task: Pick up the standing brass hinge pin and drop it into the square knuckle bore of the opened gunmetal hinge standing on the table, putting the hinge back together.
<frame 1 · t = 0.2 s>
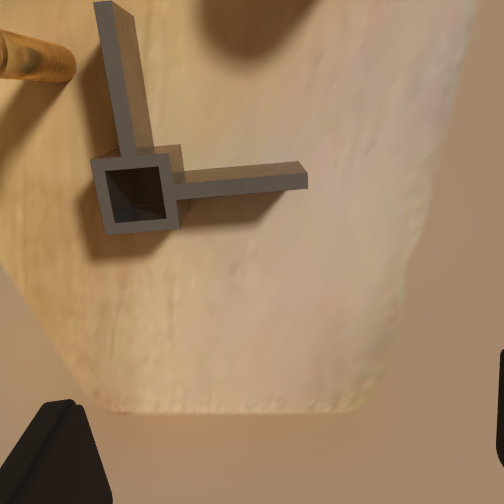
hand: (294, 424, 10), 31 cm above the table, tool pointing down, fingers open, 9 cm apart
hinge pin: (58, 64, 35), on the table
hinge body: (152, 180, 39), on the table
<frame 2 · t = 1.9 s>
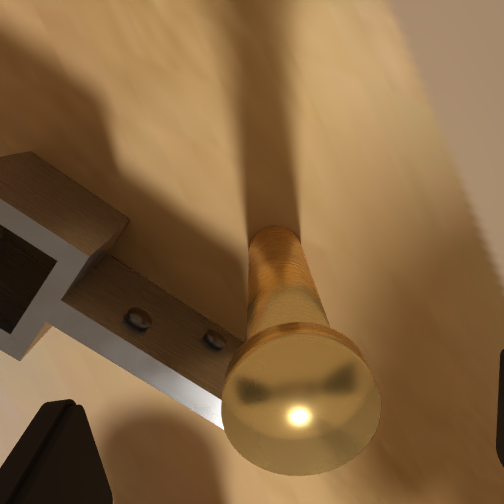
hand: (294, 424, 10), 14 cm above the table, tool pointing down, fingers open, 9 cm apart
hinge pin: (275, 251, 23), on the table
hinge body: (53, 230, 23), on the table
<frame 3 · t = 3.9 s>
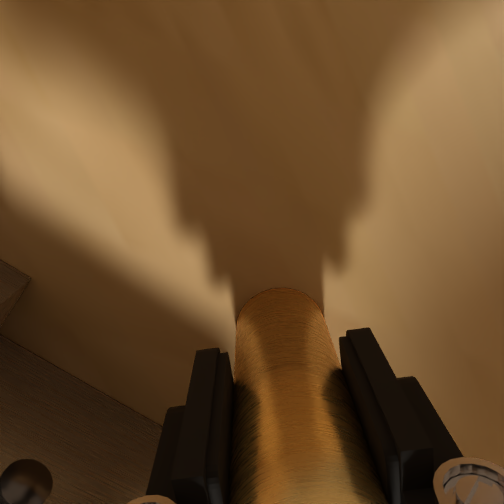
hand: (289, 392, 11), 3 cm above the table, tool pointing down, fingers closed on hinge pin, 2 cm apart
hinge pin: (280, 328, 14), on the table, touching gripper
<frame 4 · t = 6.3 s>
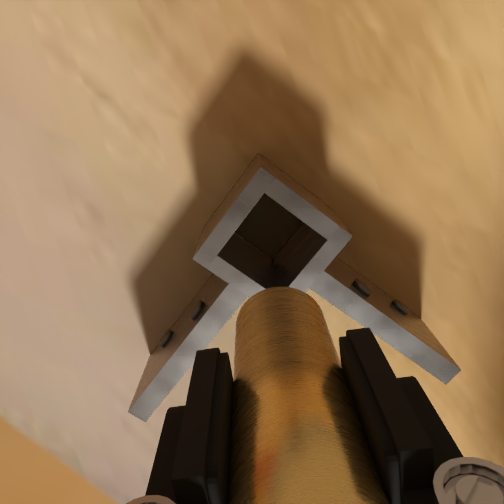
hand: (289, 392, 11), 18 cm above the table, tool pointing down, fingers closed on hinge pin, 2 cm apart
hinge pin: (280, 327, 14), point 15 cm above the table, touching gripper
hinge body: (267, 218, 28), on the table
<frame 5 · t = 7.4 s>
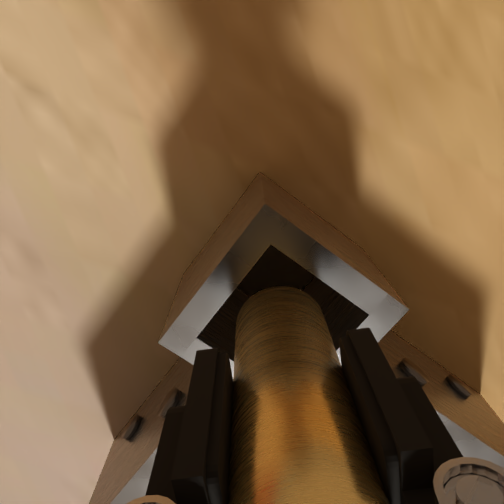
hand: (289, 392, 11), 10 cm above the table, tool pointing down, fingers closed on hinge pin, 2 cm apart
hinge pin: (280, 326, 14), point 6 cm above the table, touching gripper
hinge body: (272, 261, 20), on the table
when the fingers open (7 cm above the table, at t = 8.5 s): hinge pin drops 3 cm, resting in hinge body.
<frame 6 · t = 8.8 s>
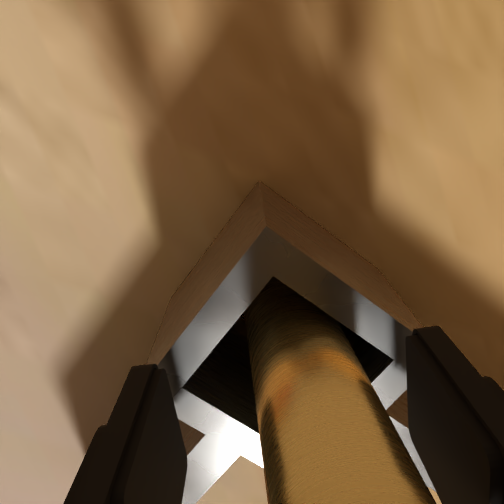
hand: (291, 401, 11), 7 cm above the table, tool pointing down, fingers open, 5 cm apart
hinge pin: (276, 283, 17), resting in hinge body
hinge body: (273, 283, 17), on the table
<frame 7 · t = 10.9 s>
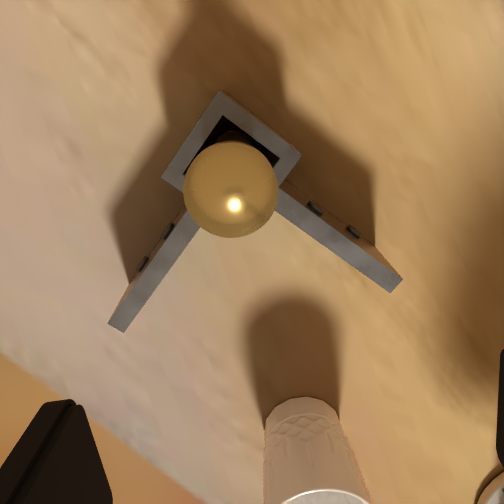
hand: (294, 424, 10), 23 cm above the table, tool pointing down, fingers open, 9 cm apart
white cup: (301, 424, 39), on the table
hinge pin: (234, 151, 31), resting in hinge body
hinge body: (232, 151, 31), on the table
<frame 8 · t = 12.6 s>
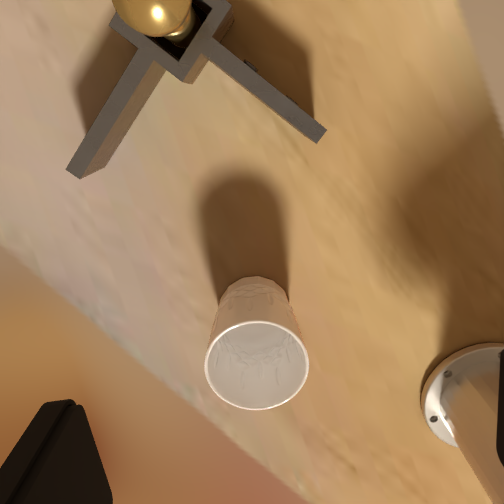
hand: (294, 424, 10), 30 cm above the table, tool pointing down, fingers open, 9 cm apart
white cup: (254, 306, 43), on the table
hinge pin: (183, 28, 34), resting in hinge body
hinge body: (182, 29, 34), on the table
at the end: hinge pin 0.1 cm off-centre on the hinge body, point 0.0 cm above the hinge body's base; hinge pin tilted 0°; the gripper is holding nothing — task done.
